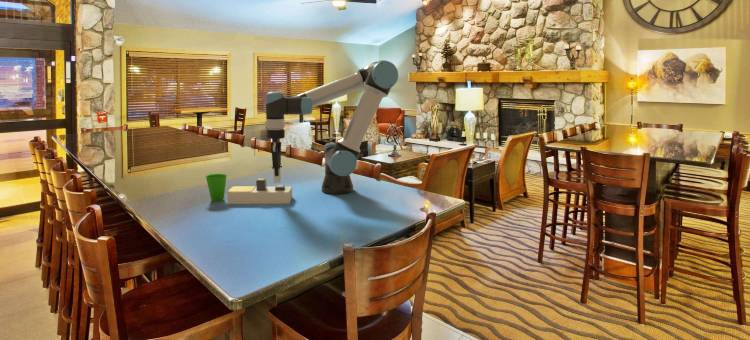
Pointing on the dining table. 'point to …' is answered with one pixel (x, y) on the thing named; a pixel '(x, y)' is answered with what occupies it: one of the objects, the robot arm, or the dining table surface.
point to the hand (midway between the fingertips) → (277, 182)
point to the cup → (216, 186)
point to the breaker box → (258, 195)
